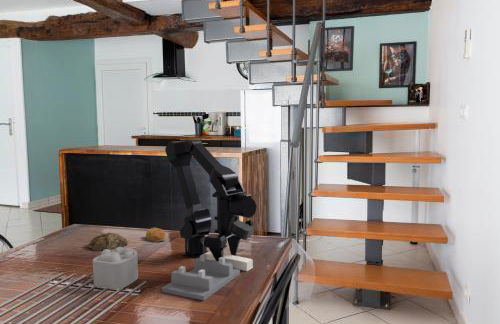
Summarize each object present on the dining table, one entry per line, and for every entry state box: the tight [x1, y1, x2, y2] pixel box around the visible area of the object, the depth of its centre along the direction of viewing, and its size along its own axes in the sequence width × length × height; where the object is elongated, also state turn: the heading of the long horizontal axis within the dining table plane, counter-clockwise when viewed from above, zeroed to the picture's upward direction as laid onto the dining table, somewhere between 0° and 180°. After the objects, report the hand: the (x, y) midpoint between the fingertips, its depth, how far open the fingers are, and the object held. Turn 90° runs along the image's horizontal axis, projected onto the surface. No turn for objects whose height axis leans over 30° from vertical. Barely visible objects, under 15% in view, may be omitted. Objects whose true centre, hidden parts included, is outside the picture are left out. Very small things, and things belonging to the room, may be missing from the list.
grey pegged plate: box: [161, 254, 241, 302], centre depth 121 cm, size 20×13×6 cm, turn 154°
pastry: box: [145, 227, 167, 243], centre depth 163 cm, size 9×7×4 cm
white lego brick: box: [92, 247, 139, 290], centre depth 123 cm, size 10×13×9 cm
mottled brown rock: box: [88, 232, 129, 252], centre depth 156 cm, size 13×12×5 cm
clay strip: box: [205, 250, 254, 272], centre depth 135 cm, size 16×3×3 cm, turn 57°
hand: (227, 261), depth 134 cm, fingers open, 8 cm apart
